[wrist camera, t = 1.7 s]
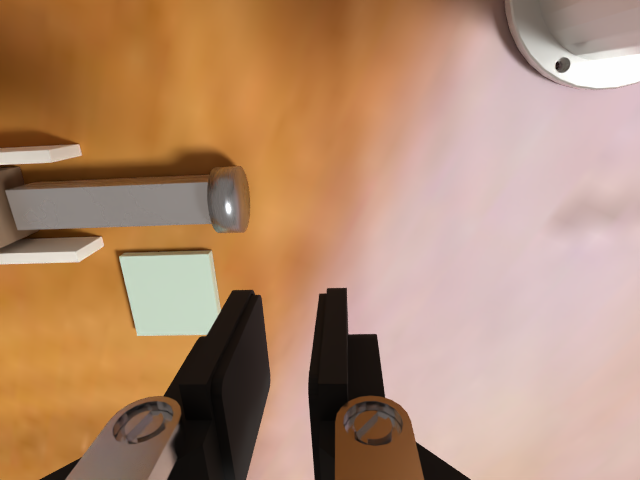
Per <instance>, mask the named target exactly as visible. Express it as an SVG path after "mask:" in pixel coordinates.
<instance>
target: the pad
mask: <svg viewBox="0 0 640 480" xmlns="http://www.w3.org/2000/svg"><path fill="white" fill-rule="evenodd" d="M119 259H120V263H121V268H122V272H123V276H124V280H125V285H126V289H127V293H128V298H129V302H130V306H131V310H132V315H133V319H134V323H135V327H136V332H137V336H155V335H207V334H208V332H209V330H210V329H211V327H212V325H213V324H214V322H215V320H216V318H217V317H218V315H219V313H220V311H221V308H220V301H219V295H218V288H217V282H216V275H215V268H214V262H213V255H212V250H205V251H170V252H135V253H123V254H122V255H121V256H119Z"/></svg>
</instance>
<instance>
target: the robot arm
mask: <svg viewBox="0 0 640 480" xmlns="http://www.w3.org/2000/svg"><path fill="white" fill-rule="evenodd" d="M505 12H506V16H507V21H508V25H509V29H510V32H511V34H512V37H513V39H514V41H515V43H516V45H517V48H518V49H519V51H520V52H521V53H522V55H523V56H524V57H525V59H526V60H527V61H528V63H529V64H530V65H531V66H532V67H534V68H535V69H536V70H537V71H538V72H539V73H541V74H542V75H543V76H545V77H547V78H549V79H551V80H553V81H554V82H556V83H558V84H561V85H565V86H569V87H572V88H576V89H591V90H601V89H616V88H620V87H624V86H628V85H632V84H636V83H639V82H640V0H505ZM556 62H558V63H559V68H558V69H557V70H556V69H555V64H556ZM269 388H270V369H269V360H268V351H267V342H266V333H265V324H264V315H263V306H262V298H261V296H260V295H255V293H254V291H253V290H233V291H232V292H231V294H230V296H229V297H228V299H227V301H226V303H225V304H224V306H223V308H222V310H221V311H220V313H219V315H218V317H217V318H216V320H215V322H214V324H213V325H212V327H211V329H210V330H209V332H208V334H207V336H202V337H199V339H198V340H197V341H196V343H195V345H194V346H193V348H192V350H191V351H190V353H189V355H188V356H187V358H186V360H185V361H184V363H183V365H182V366H181V368H180V370H179V371H178V373H177V375H176V376H175V378H174V379H173V381H172V383H171V384H170V386H169V388H168V389H167V391H166V393H165V394H164V396H155V397H148V398H144V399H141V400H137V401H135V402H133V403H131V404H129V405H127V406H126V407H124V408H123V409H121V410H120V411H118V412H117V413H116V414H115V415H114V416H113V417H112V418H111V419H110V420H109V422H108V423H107V424H106V426H105V427H104V428H103V430H102V431H101V432H100V434H99V435H98V436H97V438H96V439H95V440H94V442H93V443H92V445H91V446H90V447H89V449H88V450H87V451H86V453H85V454H84V455H83V457H81V458H80V459H78V460H76V461H74V462H72V463H70V464H68V465H66V466H64V467H63V468H61V469H59V470H57V471H55V472H53V473H51V474H49V475H47V476H46V477H44V478H42V479H40V480H246V477H247V474H248V470H249V466H250V462H251V458H252V454H253V450H254V446H255V443H256V439H257V435H258V431H259V427H260V423H261V419H262V415H263V412H264V408H265V404H266V400H267V396H268V392H269ZM308 395H309V409H310V422H311V436H312V449H313V462H314V475H315V480H471V479H469V478H468V477H466V476H465V475H463V474H462V473H460V472H459V471H458V470H456V469H455V468H453V467H452V466H450V465H449V464H447V463H446V462H444V461H443V460H441V459H440V458H439V457H437V456H436V455H434V454H433V453H431V452H430V451H428V450H427V449H425V448H424V447H423V446H421V445H420V444H418V443H417V442H416V441H415V437H414V433H413V428H412V424H411V420H410V418H409V416H408V413H407V412H406V411H405V410H404V409H403V408H402V407H401V406H400V405H399V404H397V403H396V402H394V401H392V400H390V399H387V398H385V394H384V386H383V378H382V371H381V363H380V355H379V348H378V340H377V335H376V334H352V335H348V312H347V288H327V294H319V301H318V309H317V317H316V325H315V332H314V340H313V348H312V355H311V363H310V371H309V382H308Z"/></svg>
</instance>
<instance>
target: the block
mask: <svg viewBox="0 0 640 480" xmlns="http://www.w3.org/2000/svg"><path fill="white" fill-rule="evenodd" d="M23 185H25V183H24V179H23V176H22V173H21V169H20V167H1V168H0V248H2V247H4V246H6V245H9V244H11V243H13V242H15V241H18V240H20V239H22V238H24V237H26V236H29V235H31V234H33V233H35V232H38V231H39V230H38V229H37V230H17V227H16V223H15V220H14V217H13V214H12V211H11V208H10V204H9V201H8V198H7V195H6V192H5V190H8V189H12V188H16V187H19V186H23Z"/></svg>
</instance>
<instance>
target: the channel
mask: <svg viewBox="0 0 640 480" xmlns="http://www.w3.org/2000/svg"><path fill="white" fill-rule="evenodd" d="M78 156H82V154H81V149H80V145H79V144H73V145H53V146H32V147H12V148H0V165H8V164H30V163H52V162H56V161H61V160H65V159H69V158H73V157H78ZM102 247H104V244H103V239H102V236H101V237H70V238H38V239H20V240H18V241H15V242H13V243H11V244H9V245H6V246H4V247H2V248H0V264H26V263H63V262H80V261H81V260H83V259H85V258H86V257H88V256H89V255H91V254H93V253H94V252H96V251H97V250H99V249H100V248H102Z"/></svg>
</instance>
